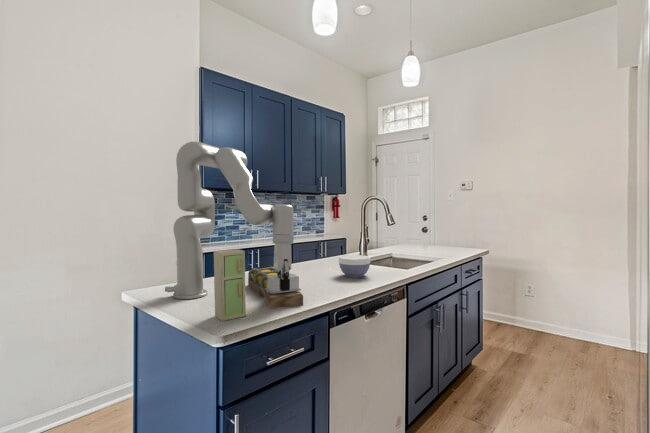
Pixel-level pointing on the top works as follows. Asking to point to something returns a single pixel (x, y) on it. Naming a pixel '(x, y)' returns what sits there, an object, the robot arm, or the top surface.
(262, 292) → the cage light
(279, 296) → the stand
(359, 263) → the bowl
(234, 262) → the toy refrigerator
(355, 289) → the top surface
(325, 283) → the top surface
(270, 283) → the block
